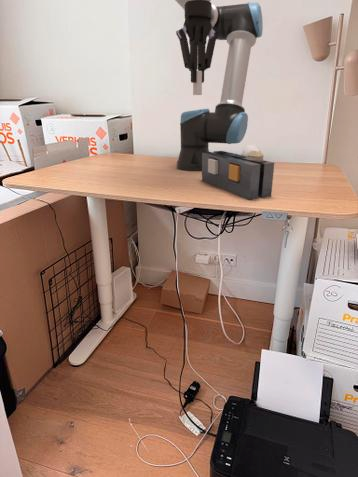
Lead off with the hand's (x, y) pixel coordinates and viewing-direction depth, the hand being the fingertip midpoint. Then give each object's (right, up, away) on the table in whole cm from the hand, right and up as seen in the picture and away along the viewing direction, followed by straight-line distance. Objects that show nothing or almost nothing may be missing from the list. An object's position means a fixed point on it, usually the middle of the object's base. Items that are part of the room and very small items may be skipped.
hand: (197, 94), depth 102 cm
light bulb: (+22, -18, +30) cm, 41 cm away
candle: (+22, -22, +21) cm, 37 cm away
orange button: (+13, -25, +1) cm, 28 cm away
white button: (+7, -21, +11) cm, 25 cm away
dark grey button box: (+12, -27, +9) cm, 31 cm away
